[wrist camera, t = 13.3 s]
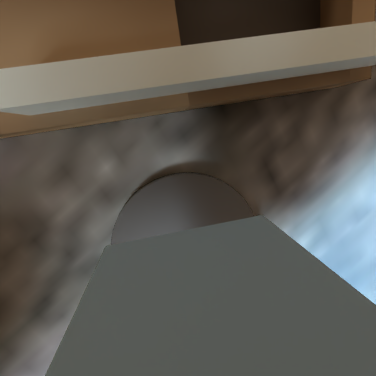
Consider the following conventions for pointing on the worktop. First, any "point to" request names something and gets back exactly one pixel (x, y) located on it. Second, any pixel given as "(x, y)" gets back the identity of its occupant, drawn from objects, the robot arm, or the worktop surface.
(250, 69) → the channel walls
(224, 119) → the worktop surface
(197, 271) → the block
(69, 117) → the channel base plate
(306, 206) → the worktop surface
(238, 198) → the coaster
